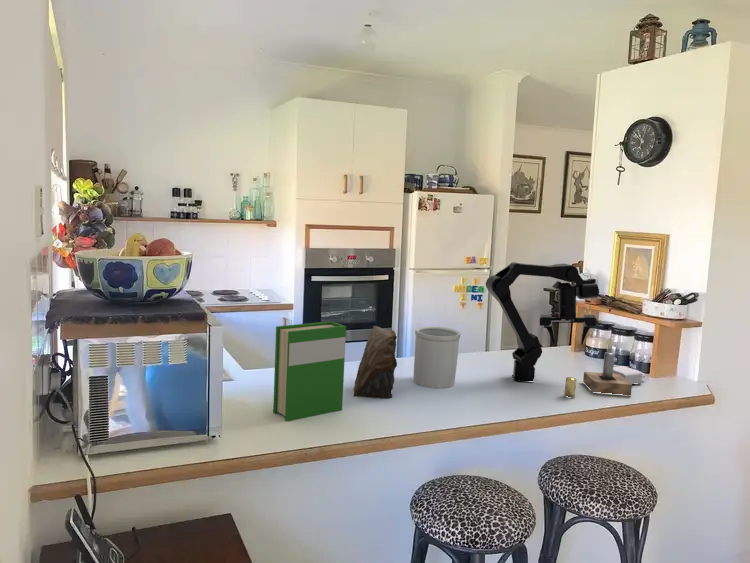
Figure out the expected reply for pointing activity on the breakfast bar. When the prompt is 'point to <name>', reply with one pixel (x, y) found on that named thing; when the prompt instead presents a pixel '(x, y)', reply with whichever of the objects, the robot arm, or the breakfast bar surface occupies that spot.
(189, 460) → the breakfast bar surface
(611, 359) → the long steel pin
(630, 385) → the walnut hole block
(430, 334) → the utensil holder
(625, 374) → the charger
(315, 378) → the hardback book
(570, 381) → the short brass pin
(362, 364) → the brown rock
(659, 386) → the breakfast bar surface
